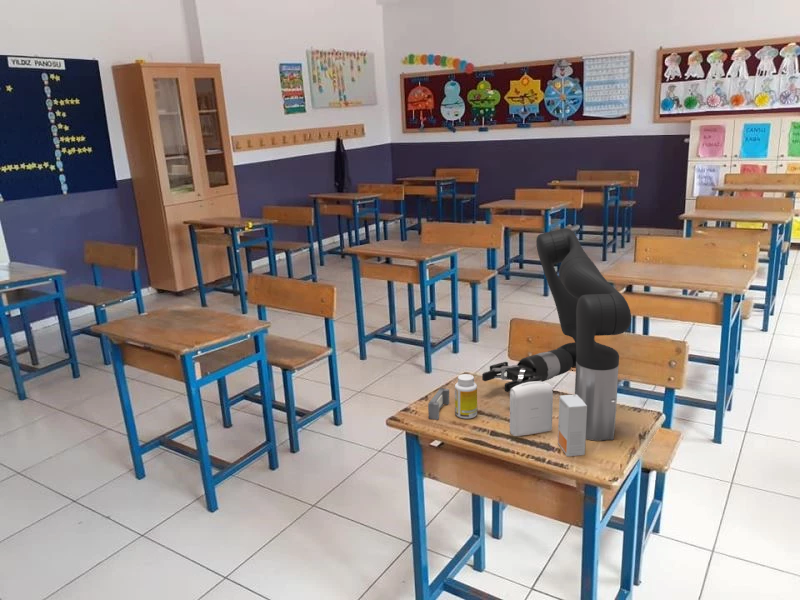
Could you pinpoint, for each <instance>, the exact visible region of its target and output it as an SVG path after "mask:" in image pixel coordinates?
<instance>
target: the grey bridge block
mask: <svg viewBox="0 0 800 600" xmlns="http://www.w3.org/2000/svg"><path fill="white" fill-rule="evenodd" d="M443 404H447V405H446V406H448V404H450V388H442V387H439V389H438V391H437V392H436V394H434V396H433V397H432V398H431V399H430V401H429V402H428V404H427V405H428V406H427V407H428V410H427V411H428V412H427V413H428V415H427V416H428V419H431V420H437V421H438V420H439V419H440V410H441V409H442V408H441V407H444V405H443ZM440 408H441V409H440Z"/></svg>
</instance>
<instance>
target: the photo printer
mask: <svg viewBox="0 0 800 600" xmlns="http://www.w3.org/2000/svg"><path fill="white" fill-rule="evenodd" d="M553 396H554V394H553V387H552V385H551V384H550V383H549V382H546V381H543V382H540V381H533V382H526V383H522V384H519V385H517V386H515V387H513V388H511V390H510V391H509V433H510V434H511V435H512V436H514V437H521V436H527V435H535V434H540V433H546V432H550V431H552V429H553V408H554V407H553V403H554V402H553V401H554V398H553Z"/></svg>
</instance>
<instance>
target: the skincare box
mask: <svg viewBox="0 0 800 600" xmlns="http://www.w3.org/2000/svg"><path fill="white" fill-rule="evenodd" d="M586 419H587V405H586V404H585V403H584V402H583V400H582V399H581V398H580V397H579V396H578V395H577V394H575V393H574V394H566V395H559V404H558V425H557V426H558V427H557V428H558V430H557V431H558V432H557V444H558V445H559V447H560V448H561V449H562V451H563V452H564V454H565V456H566V457H577V456H585V455H586V440H587V439H586Z"/></svg>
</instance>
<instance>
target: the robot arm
mask: <svg viewBox="0 0 800 600" xmlns="http://www.w3.org/2000/svg"><path fill="white" fill-rule="evenodd" d="M535 243H536V249H537V250H536V252H537V254H538V257H539V262H540V265H541V268H542V270H543V274H544V276H545V279H546V282H547V285H548V287H549V291H550V293H551V296H552V298H553V301H554V305H555V307H556V311H557V315H558V316H557V317H558V319H559V324H560V329H561V332H562V334H563V335H565V336H567V337H570V338H572V339H573V340H574V342H573V341H572V342H569V343H568V342H567V343H565V344H562V345H560V346H559V347H557V348H556V349H552V350H548V351H546V352H545V351H544V352H539V353H536V354H533V355H530V356H526V357H523V358H521V359H520V360H519V361H518V362H517V364H514V365H509V362H507V361H502V362H499V363H495V364H492V365H490V366H489V371H484V372H483V373H482V374H481V375H482V376H481V377H482V379H481V380H482V381H483V382H488V381H491V380H494V379H501V380H502V381H503V380H504V381H507V380H508V381H507V382H506V383H504V392H507V393H510V390H511V388H513V387H515V386H517V385H519V384H522V383H526V382H533V381H540V382H546V381H549V380H552V379H554V378H555V377H557V376H560V375H563V374H566V373H568V372H569V371H570V370H572V368H575V377H574V378H575V381H574V382H575V384H574V395H575V394H577V395H578V396H579V397H580V398H581V399H582V400H583V402H584V403H585V404H586V405H587V419H586V440H590V441H606V440H614V439H615V438H614V437H615V431H616V417H617V416H616V415H617V402H618V380H619V365H620V363H619V362H620V355H619V352H618V351H617V350H616V349H614V348H613V347H611V346H608V345H605V344H602V343H599V342H597V341H596V340H595V337H596V336H597V337H599V336H617V335H623V333H625V332H627V331H628V329H629V328H630V326H631V323H632V313H631V309H630V306H629V304H628V302H627V300H626V298H625V297H624V295H622V294H621V292H620V291H618V290H617V288H615V287H614V286H613V285H612V284H610V282H609V281H608V280H607V279H606V278H605V277H604V275H603V274H602V273H601V271H600V269H599V268H598V267H597V266H596V264H595V263H594V262H593V260H592V259H591V258H590V257H589V255H588V254H587V253H586V252H585V250H584V248H583V247H582V245H581V243H580V241H579V239H578V237H577V235H576V234H575V231H573V230H572V229H570V228H566V227H565V228H564V227H563V228H559V229H554V230H551V231H546V232H543V233H540V234H538V235H537V237H536V241H535ZM560 263H561V264H560ZM556 264H560V266H559V268H558V273H557V271H556V269H555V266H554V265H556ZM505 373H506V375H505Z"/></svg>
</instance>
